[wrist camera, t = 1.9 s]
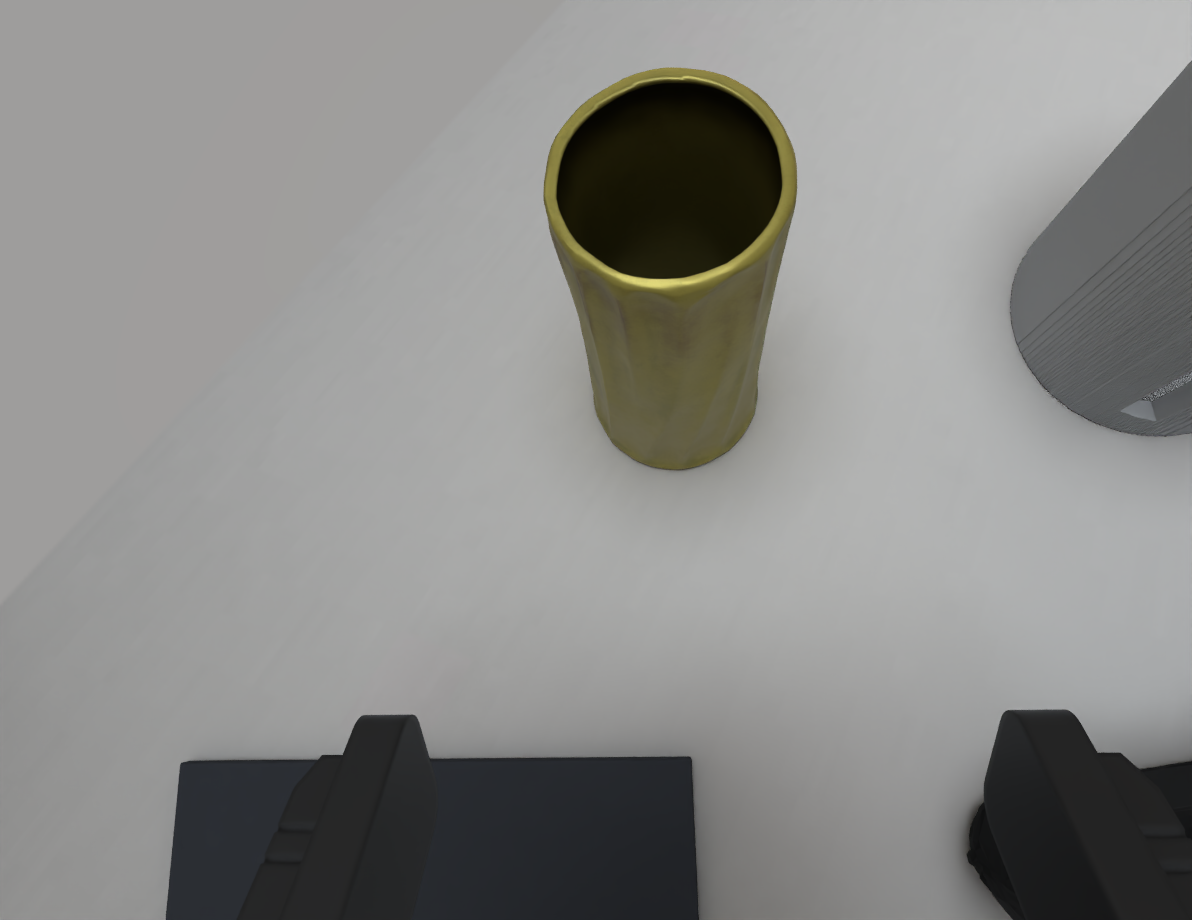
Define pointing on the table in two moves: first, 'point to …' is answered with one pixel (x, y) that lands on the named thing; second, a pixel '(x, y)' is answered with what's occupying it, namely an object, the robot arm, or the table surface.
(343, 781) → the robot arm
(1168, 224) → the cup
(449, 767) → the mat
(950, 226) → the table surface
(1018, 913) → the film camera
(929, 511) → the table surface
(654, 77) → the vase
